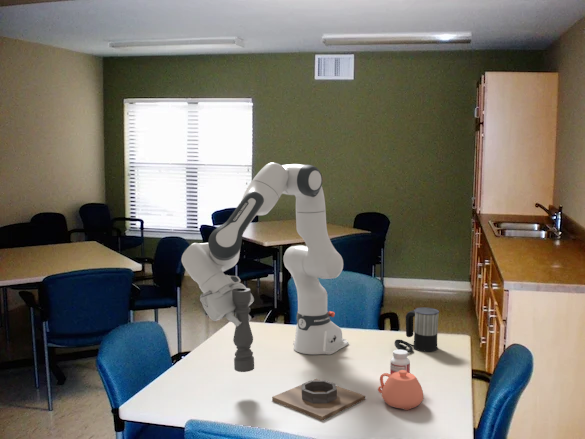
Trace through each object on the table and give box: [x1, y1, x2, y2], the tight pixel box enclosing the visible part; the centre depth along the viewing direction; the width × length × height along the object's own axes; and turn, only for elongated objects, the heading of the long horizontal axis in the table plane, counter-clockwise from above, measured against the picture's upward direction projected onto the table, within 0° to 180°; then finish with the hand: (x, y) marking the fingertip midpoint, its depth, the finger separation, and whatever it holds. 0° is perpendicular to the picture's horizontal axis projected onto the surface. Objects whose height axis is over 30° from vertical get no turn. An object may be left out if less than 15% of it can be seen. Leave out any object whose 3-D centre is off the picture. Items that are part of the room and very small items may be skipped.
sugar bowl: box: [377, 370, 424, 411], centre depth 185 cm, size 12×14×10 cm
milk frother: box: [394, 306, 440, 354], centre depth 234 cm, size 14×16×15 cm
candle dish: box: [271, 378, 366, 421], centre depth 188 cm, size 20×20×4 cm
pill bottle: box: [389, 349, 411, 375], centre depth 200 cm, size 6×6×11 cm
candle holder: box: [232, 287, 255, 373], centre depth 192 cm, size 6×6×25 cm
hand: (244, 322), depth 191 cm, fingers closed on candle holder, 4 cm apart
